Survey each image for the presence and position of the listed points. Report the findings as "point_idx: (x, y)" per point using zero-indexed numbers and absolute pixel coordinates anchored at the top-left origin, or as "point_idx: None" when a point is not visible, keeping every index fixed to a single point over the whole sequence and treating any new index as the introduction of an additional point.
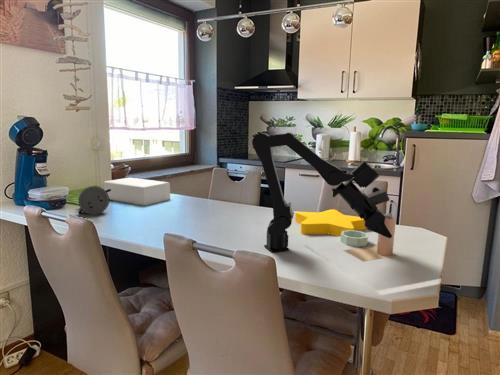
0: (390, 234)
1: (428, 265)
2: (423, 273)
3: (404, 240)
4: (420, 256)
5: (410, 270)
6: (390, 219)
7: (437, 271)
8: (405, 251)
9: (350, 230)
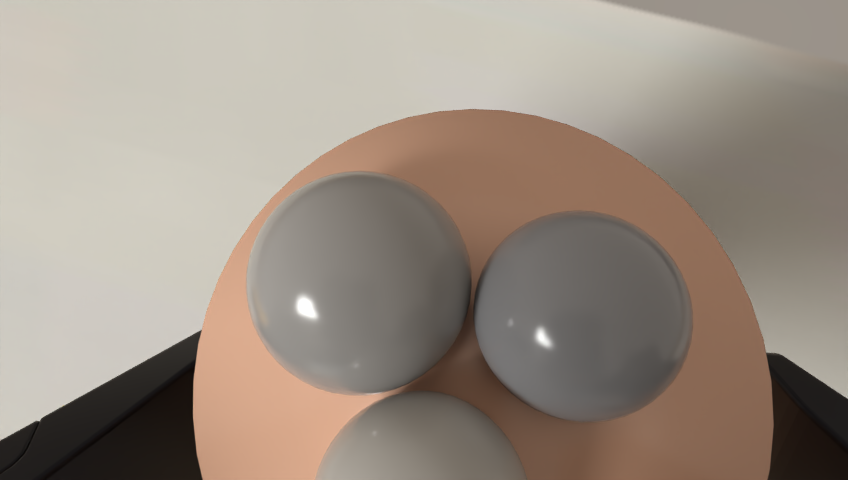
0: (827, 395)
1: (631, 70)
2: (839, 152)
3: (82, 98)
4: (436, 76)
5: (801, 237)
6: (747, 340)
7: (751, 42)
8: None
9: None
